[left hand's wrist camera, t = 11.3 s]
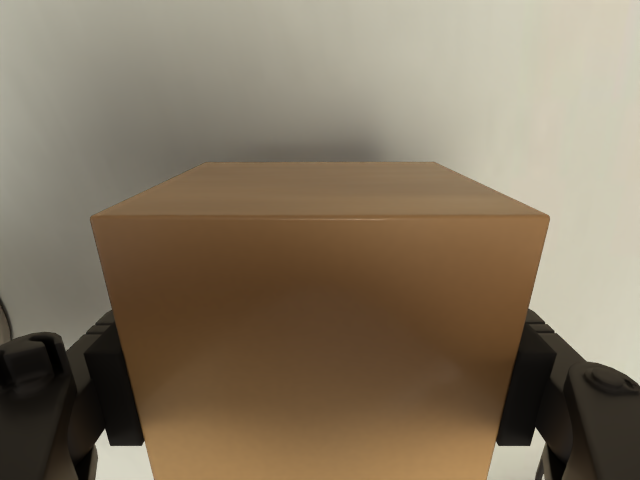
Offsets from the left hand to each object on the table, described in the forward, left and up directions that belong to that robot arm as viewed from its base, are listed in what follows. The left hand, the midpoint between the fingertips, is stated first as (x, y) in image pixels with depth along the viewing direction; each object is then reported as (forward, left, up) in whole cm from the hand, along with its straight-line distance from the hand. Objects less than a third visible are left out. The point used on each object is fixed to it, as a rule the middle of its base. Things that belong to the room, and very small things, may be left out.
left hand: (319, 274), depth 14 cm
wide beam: (+18, -20, -1) cm, 27 cm away
